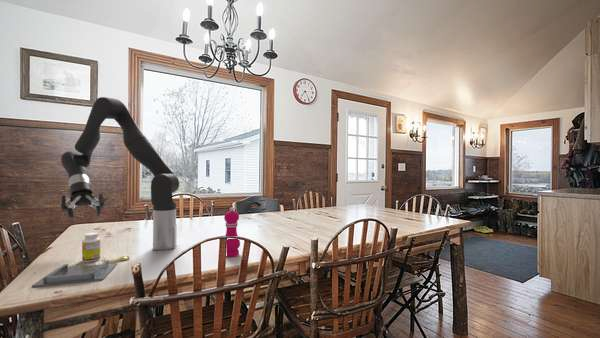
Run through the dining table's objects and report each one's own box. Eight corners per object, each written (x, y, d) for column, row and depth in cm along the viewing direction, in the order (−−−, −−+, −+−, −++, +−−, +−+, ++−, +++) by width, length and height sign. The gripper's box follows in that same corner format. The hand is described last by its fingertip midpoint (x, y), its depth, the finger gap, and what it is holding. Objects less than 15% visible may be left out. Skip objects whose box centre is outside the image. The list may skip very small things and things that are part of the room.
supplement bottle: (84, 258, 104) (85, 232, 104) (102, 256, 107) (102, 231, 107) (79, 263, 99) (79, 236, 99) (97, 261, 102) (98, 234, 101)
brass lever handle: (127, 257, 106) (127, 255, 106) (130, 259, 104) (130, 257, 104) (107, 262, 101) (107, 260, 101) (110, 264, 99) (110, 261, 99)
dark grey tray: (117, 264, 99) (117, 258, 99) (102, 280, 86) (102, 273, 86) (57, 269, 93) (57, 263, 93) (32, 287, 80) (32, 280, 80)
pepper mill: (235, 258, 108) (236, 209, 107) (218, 256, 109) (219, 208, 109) (242, 252, 115) (243, 206, 114) (227, 251, 116) (227, 205, 116)
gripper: (60, 181, 111) (63, 212, 104) (101, 180, 122) (107, 208, 114) (58, 192, 115) (61, 223, 107) (98, 191, 125) (104, 219, 118)
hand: (85, 216), depth 111 cm, fingers open, 8 cm apart
